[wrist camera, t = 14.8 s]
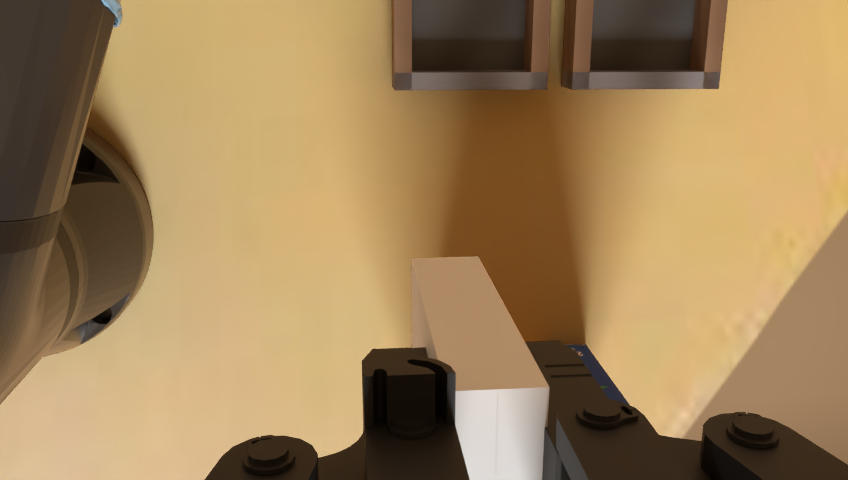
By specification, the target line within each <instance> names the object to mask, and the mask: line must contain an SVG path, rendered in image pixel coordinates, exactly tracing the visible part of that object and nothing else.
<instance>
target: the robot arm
mask: <svg viewBox="0 0 848 480" xmlns="http://www.w3.org/2000/svg"><path fill="white" fill-rule="evenodd" d="M120 1H121V0H0V404H1V403H2V402H3V401H4V400H5V399H6V397H7V396H8V395H9V394H10V393H11V392H12V391H13V389H14V388H15V387H16V386H17V385H18V384H19V383H20V382H21V380H22V379H23V378H24V377H25V376H26V375H27V374H28V373H29V371H30V370H31V369H32V368H33V367H34V366H35V365H36V364H37V362H38V361H39V360H40V359H41V358H42V357H45V356H48V355H52V354H56V353H60V352H63V351H66V350H69V349H72V348H74V347H77V346H79V345H81V344H83V343H85V342H87V341H89V340H91V339H92V338H94V337H95V336H97V335H98V334H100V333H101V332H102V331H104V330H105V329H106V328H108V327H109V326H110V325H111V324H112V323H113V322H114V321H115V320H116V319H117V318H118V317H119V316H120V315H121V314H122V312H123V311H124V310H125V309H126V307H127V306H128V305H129V304H130V302H131V301H132V300H133V298H134V297H135V296H136V294H137V293H138V291H139V289H140V287H141V286H142V284H143V281H144V279H145V277H146V274H147V272H148V269H149V265H150V261H151V256H152V249H153V225H152V218H151V213H150V209H149V205H148V202H147V199H146V196H145V194H144V191H143V189H142V187H141V185H140V183H139V181H138V179H137V177H136V176H135V174H134V172H133V171H132V169H131V168H130V166H129V165H128V164H127V162H126V161H125V160H124V159H123V157H122V156H121V155H120V154H119V153H118V152H117V151H116V150H115V149H114V148H113V147H112V146H111V145H110V144H109V143H108V142H107V141H105V140H104V139H103V138H102V137H101V136H99V135H98V134H97V133H95V132H94V131H92V130H91V129H89V128H88V127H86V126H87V122H88V119H89V115H90V111H91V108H92V104H93V100H94V96H95V93H96V89H97V85H98V81H99V78H100V74H101V70H102V66H103V63H104V59H105V55H106V51H107V48H108V44H109V40H110V36H111V33H112V29H113V27H118V26H119V25H120V24H121V21H122V7H121V4H120ZM362 386H363V434H362V436H361V437H360V438H359V440H358V441H357V442H355V443H354V444H353V445H352V446H350V447H348V448H346V449H344V450H342V451H340V452H338V453H335V454H331V455H328V456H324V457H320V458H318V454H317V452H316V451H315V449H314V448H313V446H312V445H311V444H309V443H307V442H305V441H303V440H301V439H298V438H293V437H288V436H273V435H267V436H261V437H260V438H259V437H256V438H252V439H249V440H247V441H245V442H243V443H240V444H238V445H236V446H234V447H232V448H231V449H230V450H229V451H228V452H226V453H225V454H224V455H223V456H222V457H221V458H220V460H219V461H218V462H217V464H216V465H215V467H214V468H213V469H212V471H211V472H210V473H209V475H208V476H207V477H206V479H205V480H848V465H847V464H845V463H844V462H842V461H841V460H839V459H838V458H836V457H835V456H833V455H831V454H830V453H828V452H827V451H825V450H823V449H822V448H820V447H819V446H817V445H816V444H814V443H813V442H811V441H809V440H808V439H806V438H805V437H803V436H801V435H800V434H798V433H797V432H795V431H794V430H792V429H790V428H789V427H787V426H785V425H782V424H780V423H778V422H776V421H774V420H771V419H768V418H764V417H761V416H760V415H758V414H753V413H748V414H746V413H745V412H735V413H730V414H720V415H717V416H714V417H711V418H709V419H708V420H707V421H706V422H705V424H704V425H703V433H702V441H695V440H688V439H680V438H672V437H667V436H661V435H658V433H657V432H656V431H655V429H654V428H653V427H652V425H651V424H650V423H649V421H648V420H647V418H646V417H645V416H644V415H643V414H642V413H641V412H640V411H638V410H637V409H636V408H634V407H632V406H630V405H628V404H625V403H623V402H620V401H616V400H611V399H608V397H607V396H606V394H605V393H604V391H603V390H602V389H601V387H600V386H599V384H598V383H597V381H596V380H595V378H594V377H592V374H591V372H590V371H589V369H588V368H587V367H586V366H585V364H584V362H583V361H582V359H581V358H580V356H579V355H578V353H577V352H576V351H575V350H573V349H571V348H570V347H568V346H566V345H565V344H563V343H561V342H559V341H534V342H525V341H524V339H523V338H522V336H521V334H520V332H519V330H518V328H517V327H516V325H515V323H514V321H513V319H512V317H511V315H510V314H509V312H508V310H507V308H506V306H505V304H504V303H503V301H502V299H501V297H500V295H499V293H498V292H497V290H496V288H495V286H494V284H493V282H492V280H491V279H490V277H489V275H488V273H487V271H486V269H485V268H484V266H483V264H482V262H481V260H480V258H479V257H478V256H471V257H431V258H412V348H390V349H372V350H371V352H370V353H369V354H368V355H367V356H366V357H365V358H364V359H363V360H362Z"/></svg>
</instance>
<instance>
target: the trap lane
mask: <svg viewBox="0 0 848 480" xmlns="http://www.w3.org/2000/svg"><path fill="white" fill-rule="evenodd" d="M727 2H728V0H565V20H564V40H563V61H562V81H561V86H563V87H566V88H569V89H719V81H720V71H721V61H722V51H723V41H724V32H725V22H726V12H727ZM550 14H551V0H392V87H393V88H394V90H547V82H548V59H549V37H550Z"/></svg>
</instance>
